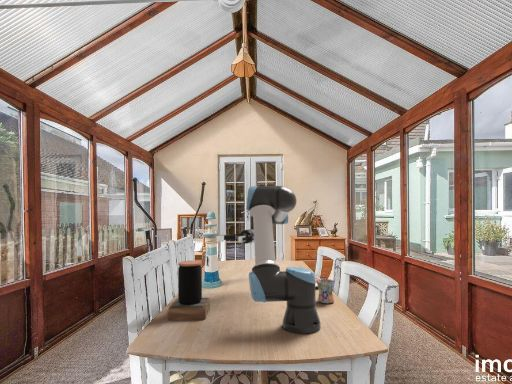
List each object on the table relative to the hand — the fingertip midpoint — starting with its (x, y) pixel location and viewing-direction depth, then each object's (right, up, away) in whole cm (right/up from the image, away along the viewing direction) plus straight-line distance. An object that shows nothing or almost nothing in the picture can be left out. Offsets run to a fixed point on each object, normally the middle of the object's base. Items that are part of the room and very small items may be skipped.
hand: (226, 239), depth 165 cm
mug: (+50, -32, +2) cm, 60 cm away
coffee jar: (-16, -27, -15) cm, 35 cm away
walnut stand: (-15, -32, -16) cm, 39 cm away
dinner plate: (+43, -34, +37) cm, 66 cm away
